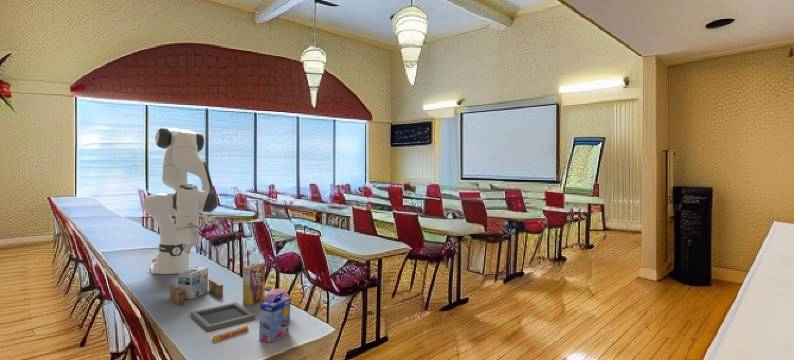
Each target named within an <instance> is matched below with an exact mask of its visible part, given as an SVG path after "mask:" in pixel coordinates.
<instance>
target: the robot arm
mask: <svg viewBox="0 0 794 360" xmlns="http://www.w3.org/2000/svg"><path fill="white" fill-rule="evenodd" d="M154 141H155V144H156V146H157V147H158V148H160V149H164V150H166V151H165V154H164V157H163V164H162V177H161V181H162V184H164V185H165V186H166V187H168V188H170V189H173V190H174V191H175V193H156V194H151V195H148V196H147V197H145V199H144V201H143V203H142V205H143V206H142V207H143V211H144V212H145V213H146V214H147V215H149V216H150V217H151V218H153V219H154V221H155V222H156V224H157V225H158V228H159V238H160V239H159V242H160V243H159V245H158V252H157V254H155V256H154V257H152V258H151V263H152V264H150V266H149V268H150V274H151V275H157V274H159V275H174V274H178V272H181V271H184V270H187V269H190V268H192V267H193V265H191V264H190V254H191V250H192V247H198V246H199V245H200V231H199V228H198V226H199V224H200V221H199V220H200V213H212V212H213V211H215V210H216V209H217V208H218V202H219V201H218V196H217V193H216V192H215V191H216V190H215V188H214V186H213V182H212V177H211V174H210V171H209V167H208V164H207V162H205V161H203V160H202V159H201V157H200V156H199V153H200V152H201V151H202V150H203V148H204V145H205V137H204V135H203V134H202V133H200V132H196V131H191V130H187V129H179V128H168V127H160V128H159V129H158V130H157V131H156V133H155V137H154ZM189 173H190V174H193V175H195V176H197V177H198V178H200V181H201V184H202V189H203V190H199V188H198V186H197V185H195V184H192V183H191V184H190V183H188V174H189ZM173 216H175V218H174V219H173V218H172V217H173Z"/></svg>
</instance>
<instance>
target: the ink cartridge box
mask: <svg viewBox="0 0 794 360" xmlns="http://www.w3.org/2000/svg"><path fill="white" fill-rule="evenodd" d="M282 295H283V293H281V294H279V295H277V296H276V297H274V298H272V299H270V300H267V301H265V302H262V303H260V308H259V309H260V311H259V312H260V314H259V330H258V331H259V333H258V340H261V341H265V342H267V343H270V344H271V343H273V342H275V341H277V340H278V339H280V338H282V337H283V336H285V335H287V334H289V332H290V320H291V319H290V318H291V315H290V314H291V303H292V302H291V299H292V298H291V297H289V298H288V297H284V296H282ZM286 333H287V334H286Z"/></svg>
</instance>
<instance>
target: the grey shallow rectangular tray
mask: <svg viewBox="0 0 794 360" xmlns="http://www.w3.org/2000/svg"><path fill="white" fill-rule="evenodd" d="M256 315H257V314H255V313H253V312H252V311H251V310H249V309H248V308H246V307H244V306H243V305H241V304H240V303H238V302H237V301H235V302H231V303H227V304H223V305H218V306H213V307H208V308H205V309H204V308H203V309H199V310H195V311H190V317H191V318H192V319H193V320H194V321H195V322H197V323H198V325H200V326H201V327H203V328H204V330H206V332H209V331H213V330H217V329H221V328H225V327H229V326H234V325H237V324H240V323H245V322H249V321H253V320H256V318H257V317H256Z"/></svg>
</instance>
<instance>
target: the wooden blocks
mask: <svg viewBox="0 0 794 360" xmlns="http://www.w3.org/2000/svg"><path fill="white" fill-rule="evenodd" d="M209 291H210V292H211V294H213V293H214V296H216V295H217V296H216V297H217V298H223V296H224V284H222V283H221V282H219V281H217V280H216V279H214V278H208V292H209ZM169 298H170V299H171V300H172V301H173V302H174V303H176V305H177V306H183V305H184V298H183V292H182V291H181V290H180V289H178V286H177V285H174V284H171V285H169Z"/></svg>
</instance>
